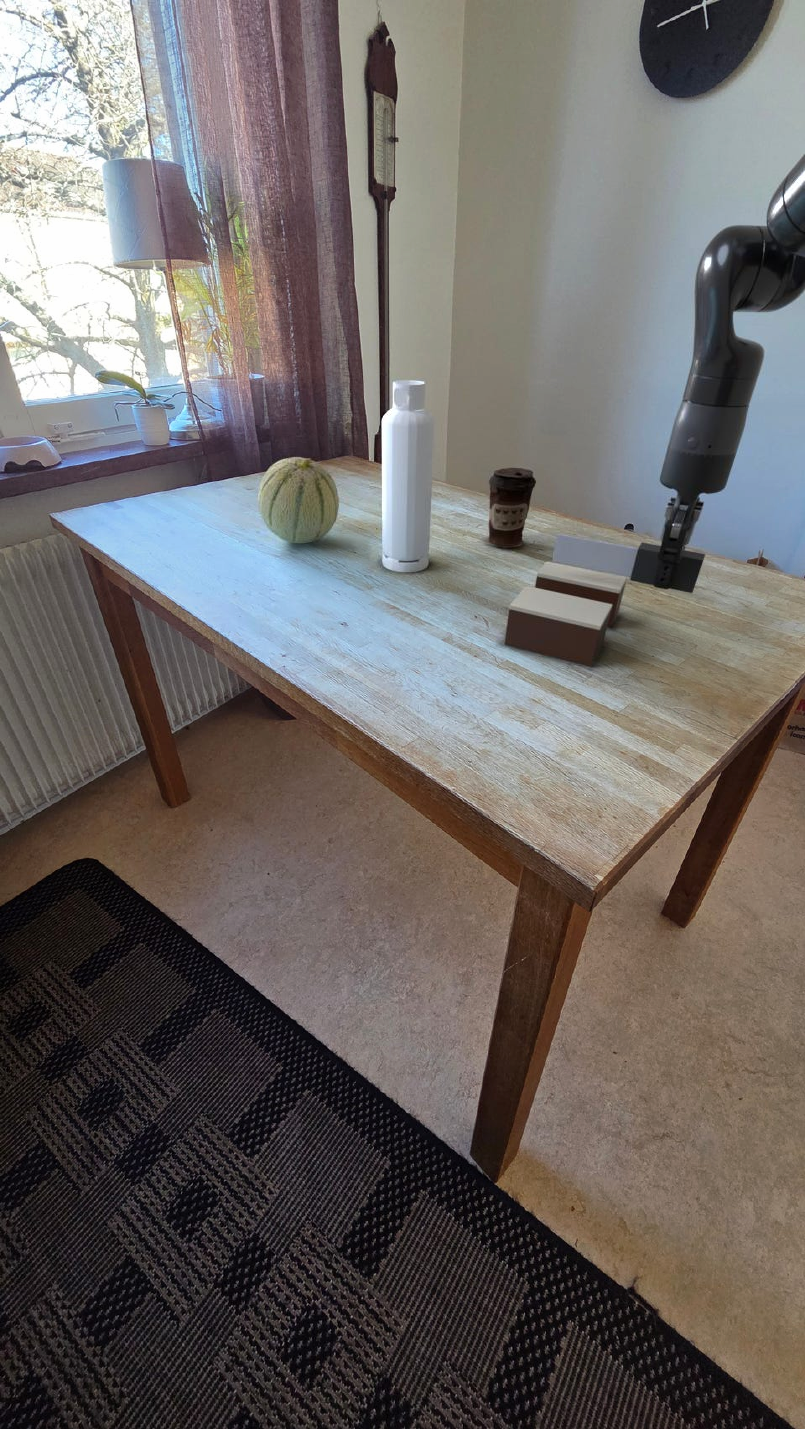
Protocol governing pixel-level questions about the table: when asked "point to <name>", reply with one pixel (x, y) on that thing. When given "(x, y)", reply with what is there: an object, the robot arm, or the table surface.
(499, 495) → the coffee cup
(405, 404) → the bottle
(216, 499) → the table surface
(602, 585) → the cake slice
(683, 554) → the knife
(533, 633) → the cake
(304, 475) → the cantaloupe
